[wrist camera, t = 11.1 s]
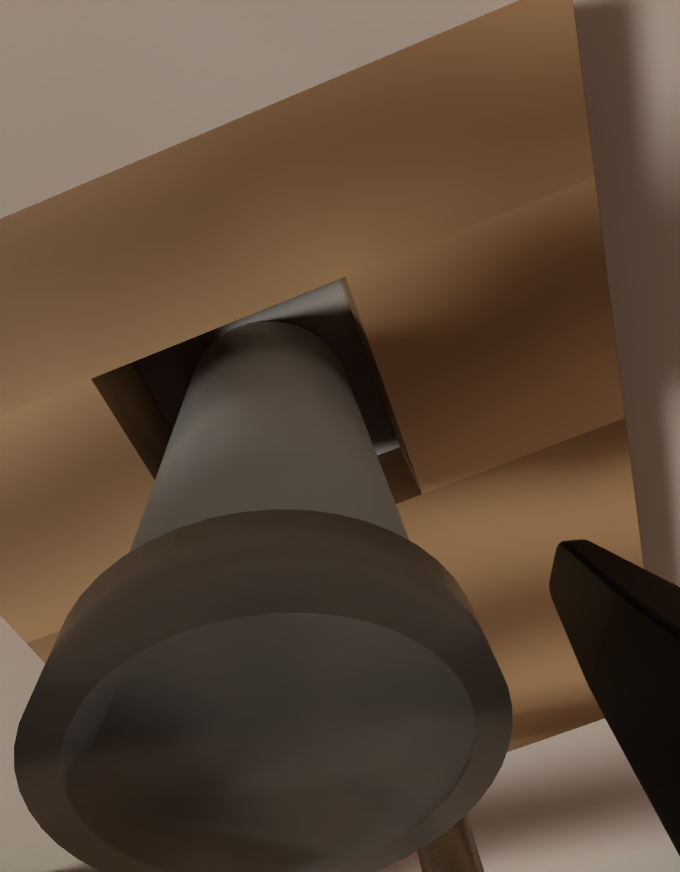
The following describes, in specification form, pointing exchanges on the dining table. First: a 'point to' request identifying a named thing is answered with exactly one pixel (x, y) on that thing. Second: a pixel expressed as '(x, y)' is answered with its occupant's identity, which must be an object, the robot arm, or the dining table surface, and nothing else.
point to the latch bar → (452, 851)
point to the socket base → (375, 319)
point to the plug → (264, 650)
